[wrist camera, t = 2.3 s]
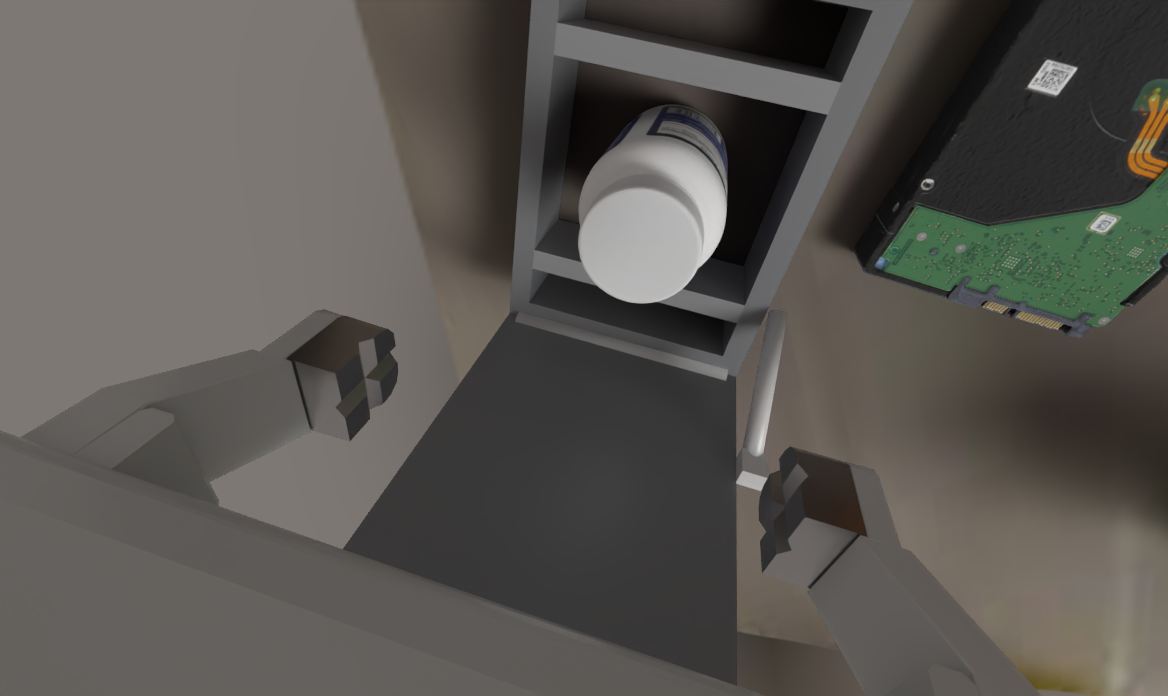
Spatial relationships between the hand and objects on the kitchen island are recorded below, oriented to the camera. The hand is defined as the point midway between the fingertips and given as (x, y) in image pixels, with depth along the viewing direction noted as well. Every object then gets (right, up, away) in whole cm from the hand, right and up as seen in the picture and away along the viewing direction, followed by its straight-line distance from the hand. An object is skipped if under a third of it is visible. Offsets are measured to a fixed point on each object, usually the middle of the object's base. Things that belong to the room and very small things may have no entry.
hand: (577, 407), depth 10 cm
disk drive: (+19, +10, +9) cm, 24 cm away
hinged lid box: (+4, +10, +13) cm, 17 cm away
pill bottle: (+4, +10, +13) cm, 17 cm away
